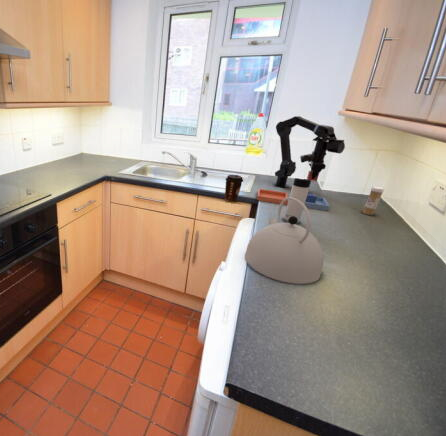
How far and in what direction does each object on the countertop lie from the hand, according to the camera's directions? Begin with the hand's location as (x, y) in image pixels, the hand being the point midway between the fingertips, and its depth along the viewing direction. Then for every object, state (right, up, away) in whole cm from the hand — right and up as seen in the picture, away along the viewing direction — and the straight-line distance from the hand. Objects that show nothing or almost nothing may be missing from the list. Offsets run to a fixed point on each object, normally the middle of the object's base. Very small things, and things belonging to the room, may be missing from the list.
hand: (312, 178), depth 168 cm
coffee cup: (-50, -13, -9) cm, 52 cm away
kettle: (-55, -38, -68) cm, 95 cm away
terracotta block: (0, -1, 0) cm, 1 cm away
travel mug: (-32, -24, -34) cm, 53 cm away
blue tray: (-9, -15, -11) cm, 21 cm away
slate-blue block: (-9, -15, -12) cm, 21 cm away
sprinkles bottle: (+13, -21, -23) cm, 33 cm away
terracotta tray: (-26, -12, -5) cm, 29 cm away
